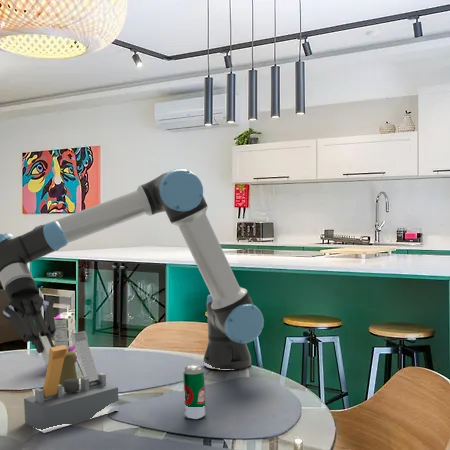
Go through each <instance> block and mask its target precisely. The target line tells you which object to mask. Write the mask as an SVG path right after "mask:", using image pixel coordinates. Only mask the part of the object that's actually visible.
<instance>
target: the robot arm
mask: <svg viewBox="0 0 450 450" xmlns="http://www.w3.org/2000/svg"><path fill="white" fill-rule="evenodd" d="M208 207H209V205H208V203H207V202H206V199H205V197H204V187H203V183H202V181H201V179H200V177H198V175H196V173H194V172H192V171H190V170H187V169H183V168H175V169H172V170H169V171H168V172H167V171H166V172H165V173H162V174H160V175H159V176H157V177H155V178H153V179H152V180H149V181H148V182H146V183H143V184H141V185H138V186H137V189H136V190H134V191H132V192H129V193H126V194H123V195H120V196H118V197H115V198H113V199H110V200H106V201H103V202H102V203H99V204H96V205H93V206H91V207H89V208H86V209H82V210H80V211H77V212H75V213H72V214H69V215H67V216H63V217H61V218H58V219H56V220H53V221H49V222H47V223H44V224H40V225H37V226H35V227H34V228H33V229H32V230H30V231H27V232H26V233H24V234H21V235H19V236H16V237H15V235H13V234H12V233H9V232H8V233H7V232H6V233H4V234H3V233H0V283H1V286H2V288H3V290H4V293H5V296H6V298H7V301H8V303H9V304H8V306H5V307H4V309H3V310H2V316H3V317H4V318H5V319H6V320H8V321H9V322H10V324H11V325H12V326H13V328H14V329H15V330H16V332H17V334H18V335H19V336H20V337H21V339H22V341H23V342H24V343H29V342H31V345H32V346H34V347H35V350H36V351H37V353H38V354H41V356H42V358H43V360H44V364H45V365H46V366H47V367H48V362H49V351H50V348H51V347H55V343H54V342H53V340H52V339H53V338H54V334H55V332H56V328H55V321H54V318H55V314H54V308H53V307H54V305H55V302H54V300H49V301H46V300H44V298H43V297H42V296H41V295H40V291H39V288H38V286H37V284H36V282H35V280H34V277H33V275H32V273H31V271H30V268H29V265H28V264H29V263H31V262H33V261H36V260H37V259H41V258H42V257H45V256H47V255H49V254H51V253H53V252H56V251H59V250H60V249H62V248H64V247H66V246H67V245H68V244H69V243H73V242H75V241H78V240H79V239H80V240H81V239H83V238H85V237H88V236H91V235H93V234H94V235H95V234H97V233H98V232H102V231H105V230H107V229H110V228H112V227H114V226H117V225H119V224H122V223H125V222H128V221H130V220H133V219H135V218H138V217H141V216H143V215H148V216H153V215H156V214H160V213H163V212H165V213H166V215H167V218H168V219H169V222H170V224H172V225H175V226H177V227H178V228H179V230H180V233H181V234H182V237H183V238H184V241H185V243H186V245H187V248H188V249H189V251H190V253H191V255H192V258H193V259H194V262H195V264H196V266H197V268H198V271H199V273H200V274H201V277H202V279H203V281H204V283H205V285H206V287H207V289H208V292H209V293H210V294H208V295H207V297H206V304H205V305H206V310H207V312H206V314H207V315H206V316H207V335H208V339H207V340H208V342H207V344H206V349H205V352H204V357H203V363H204V362H205V363H207V364H209V365H211V366H212V367H215V368H220V369H239V370H242V369H246V368H248V367H250V366H251V365H252V356H251V353H250V350H249V347H248V343H252V342H253V341H255V340H256V339H257V338H258V337H259V336H260V335H261V333H262V330H263V328H264V324H265V319H264V316H263V312H262V311H261V310H260V308H259V307H257V306H256V305H254V303H253V300H252V298H251V296H250V294H249V292H248V289H246V288H244V287H241V286H240V285H239V283H238V280H237V279H236V276H235V274H234V271H233V270H232V268H231V266H230V263H229V261H228V259H227V257H226V255H225V252H224V250H223V248H222V245H221V244H220V241H219V239H218V237H217V235H216V233H215V231H214V228H213V227H212V223H211V222H210V220H209V218H208V216H207V214H206V213H207V210H208ZM42 307H43V311H44V312H45V314H44V317H45V318H44V317H43V313H42V310H41V309H42Z"/></svg>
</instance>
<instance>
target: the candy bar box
mask: <svg viewBox="0 0 450 450" xmlns="http://www.w3.org/2000/svg"><path fill="white" fill-rule="evenodd" d="M75 313H76V312H74V311H67V312H64V311H63V312H60V313H59V314H58V315H56V317H55V316H54V321H55V328H56V332H55V334H54V336H53V338H54V347H56V346H61V345H65V346H66V347H67V352H74V353H76V349H75V346H74V344H73V343H72V339H71V336H70V335H71V334H72V333H77V331H76V329H77V328H76V316H75Z"/></svg>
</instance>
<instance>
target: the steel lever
mask: <svg viewBox="0 0 450 450" xmlns="http://www.w3.org/2000/svg"><path fill="white" fill-rule="evenodd" d="M70 336H71V339H72V343H73V344H74V346H75V349H76V352H77V360H78V361H79V365H80V368H81V372H82V375H83V377H86V378H88V379H89V387H93V386H97V385H100V381H99V377H98V374H97V373H98V371H97V367H96V365H95V362H94V358H93V355H92V352H91V349H90V346H89V343H88V339H89V338H88V336H87V332H86V330H83V331H78V332H77V331H76V333H72V334H71V335H70Z"/></svg>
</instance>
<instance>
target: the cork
mask: <svg viewBox="0 0 450 450" xmlns="http://www.w3.org/2000/svg"><path fill="white" fill-rule="evenodd" d="M76 359H77V360H78V356H76V354H75V353H74V352H67V353H66V357H64V362H63V367H62V371H61V376H60V381H59V384H60V385H62V387H64V381H65V380H67V379H79V378H78V373H77V368H76V363H77V360H76Z"/></svg>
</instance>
